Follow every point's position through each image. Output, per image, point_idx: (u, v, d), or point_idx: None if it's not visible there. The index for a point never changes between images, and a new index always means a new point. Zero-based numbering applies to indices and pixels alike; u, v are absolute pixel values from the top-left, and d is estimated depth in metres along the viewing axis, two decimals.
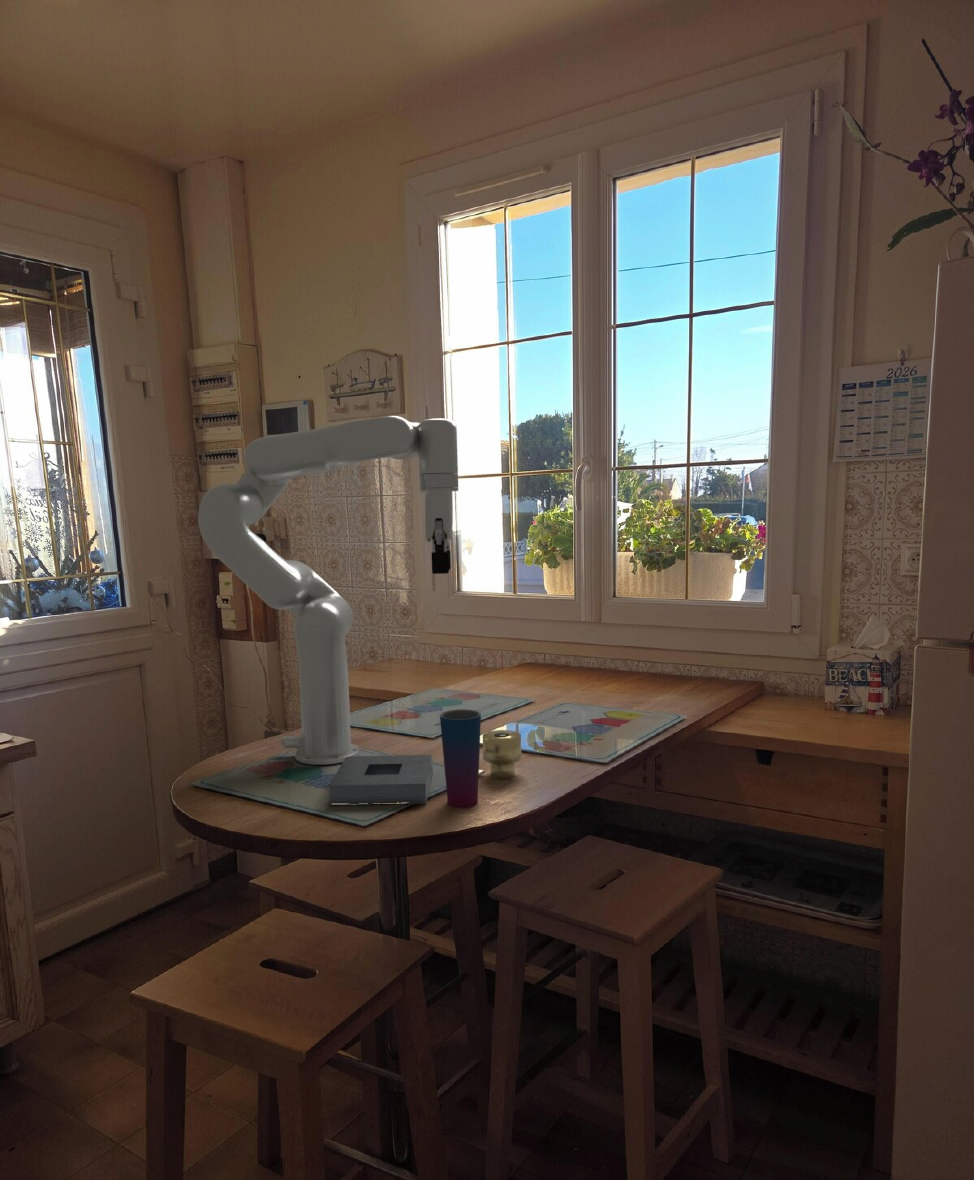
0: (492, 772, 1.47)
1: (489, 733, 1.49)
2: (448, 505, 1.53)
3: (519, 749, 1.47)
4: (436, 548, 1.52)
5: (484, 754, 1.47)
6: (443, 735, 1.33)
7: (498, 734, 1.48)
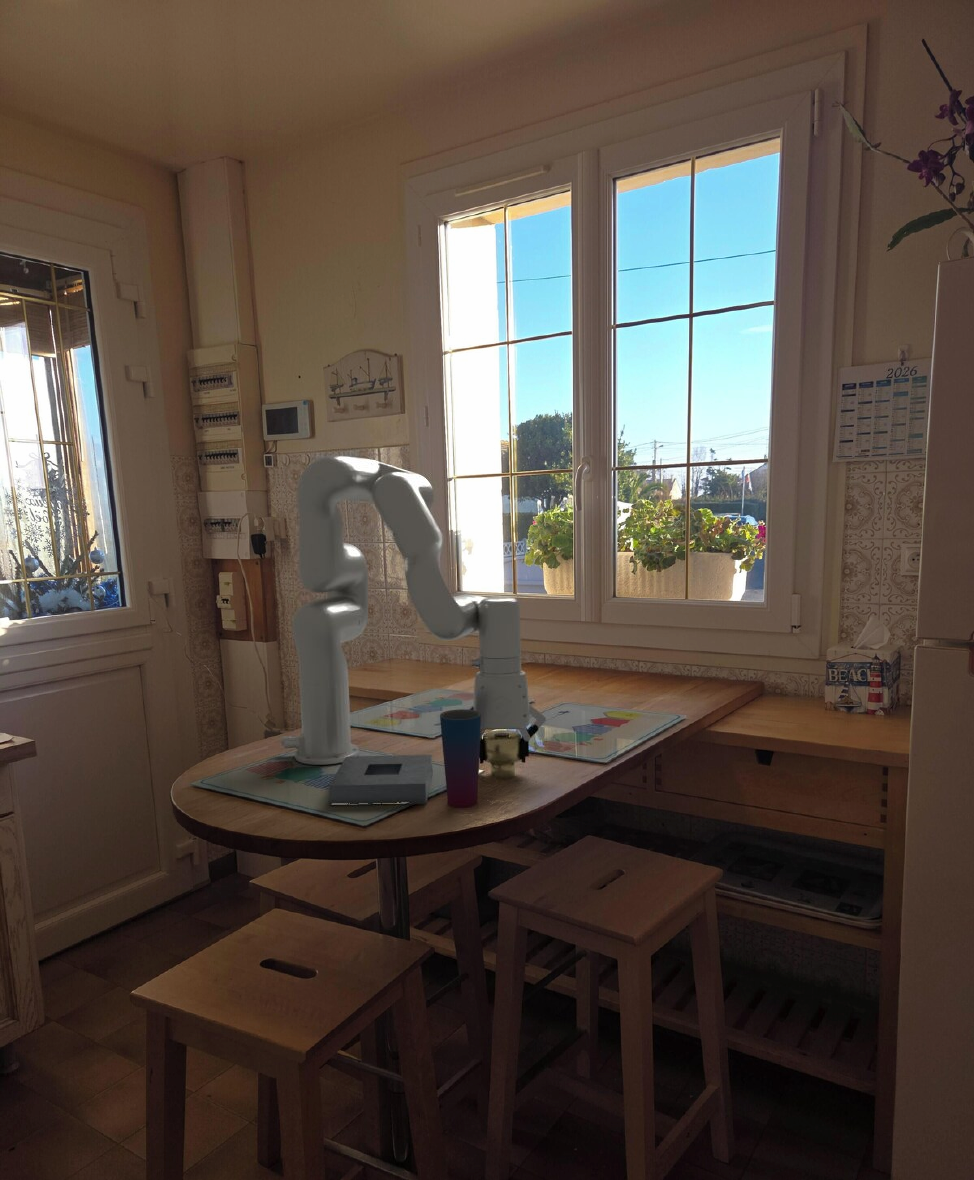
0: (492, 772, 1.47)
1: (489, 733, 1.49)
2: None
3: (519, 749, 1.47)
4: None
5: (484, 754, 1.47)
6: (443, 735, 1.33)
7: (498, 734, 1.48)
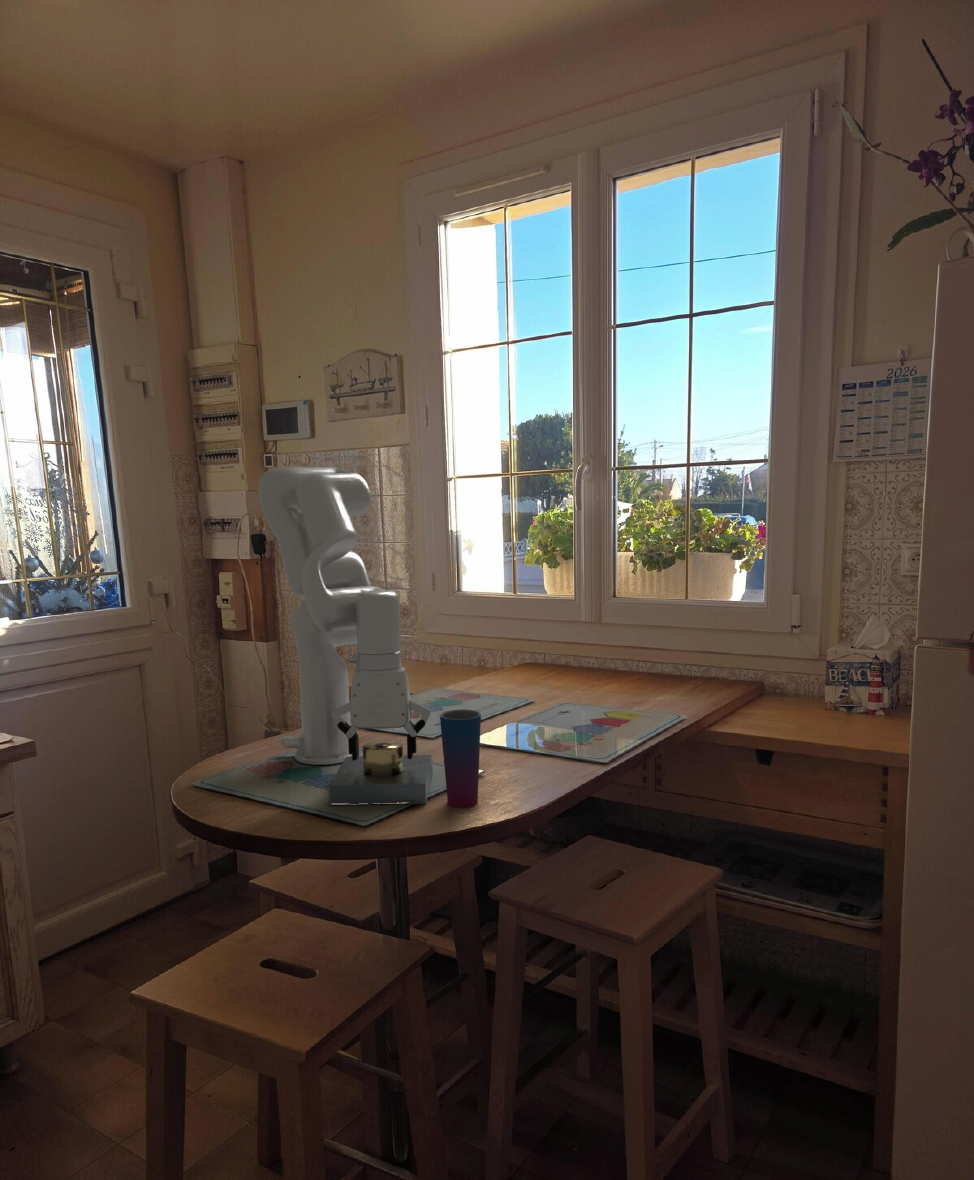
0: None
1: (371, 743, 1.43)
2: None
3: (400, 760, 1.41)
4: (419, 730, 1.41)
5: (364, 765, 1.41)
6: (443, 735, 1.33)
7: (379, 745, 1.42)
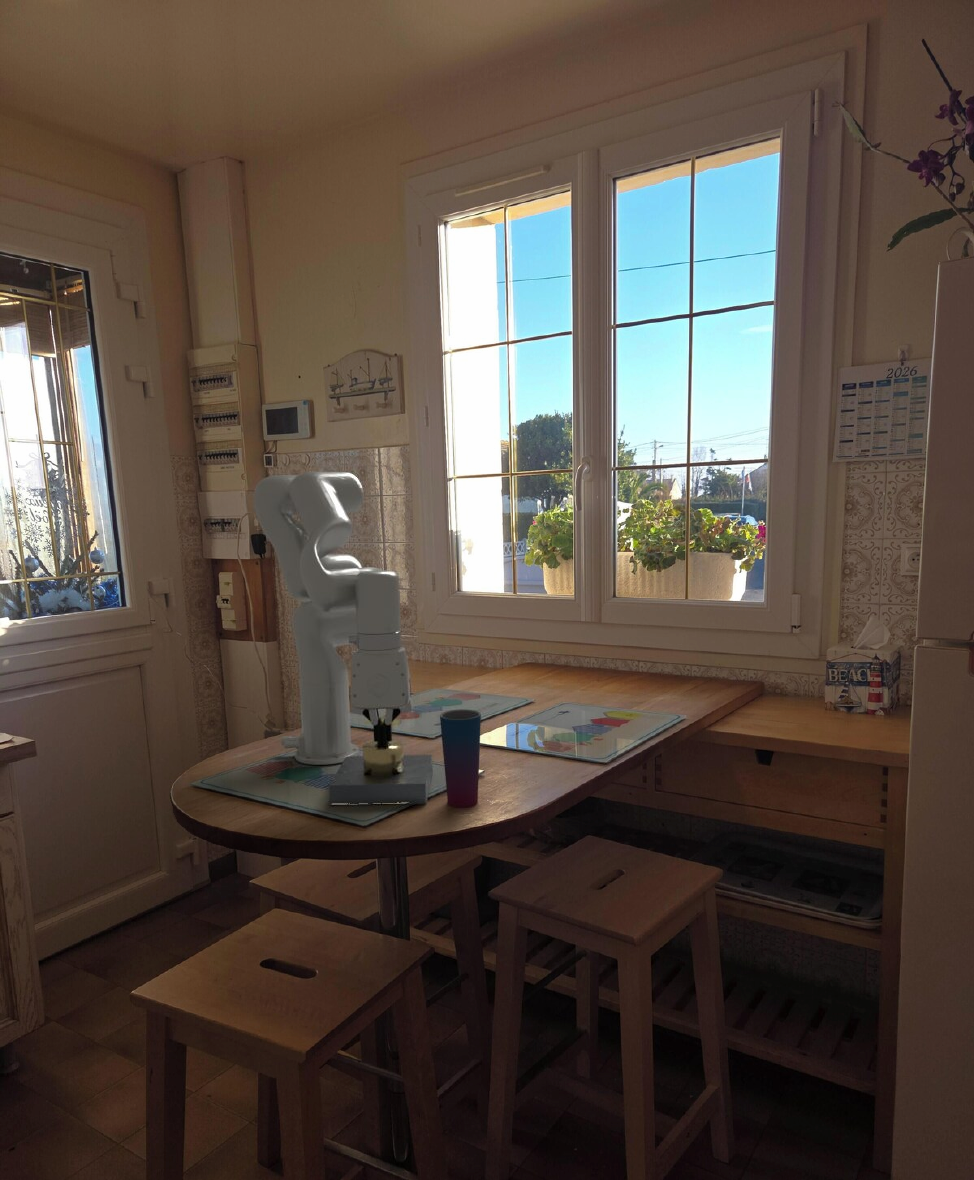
0: None
1: (371, 743, 1.43)
2: None
3: (400, 760, 1.41)
4: None
5: (364, 765, 1.41)
6: (443, 735, 1.33)
7: None
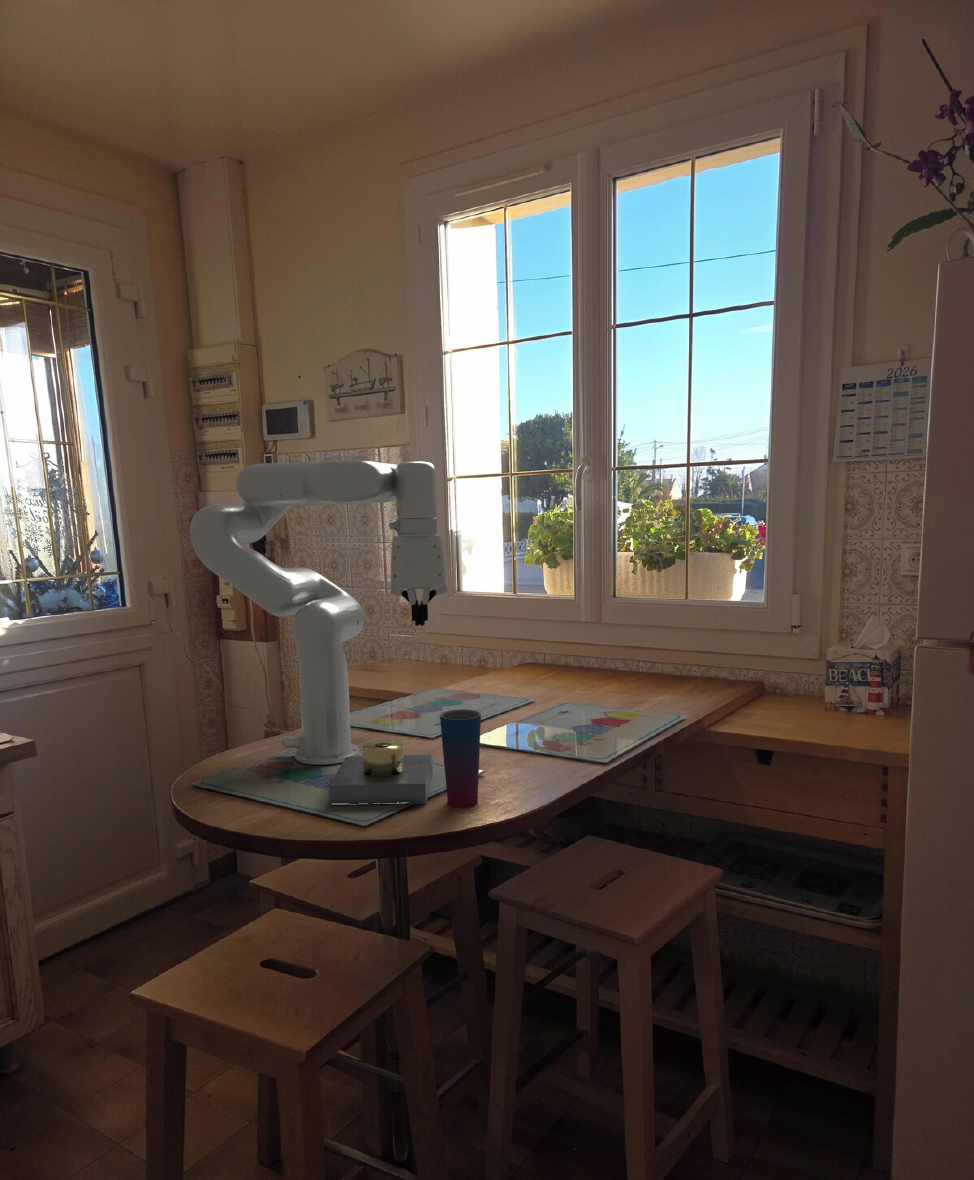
0: None
1: (371, 743, 1.43)
2: None
3: (400, 760, 1.41)
4: None
5: (364, 765, 1.41)
6: (443, 735, 1.33)
7: (379, 745, 1.42)
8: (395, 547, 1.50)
